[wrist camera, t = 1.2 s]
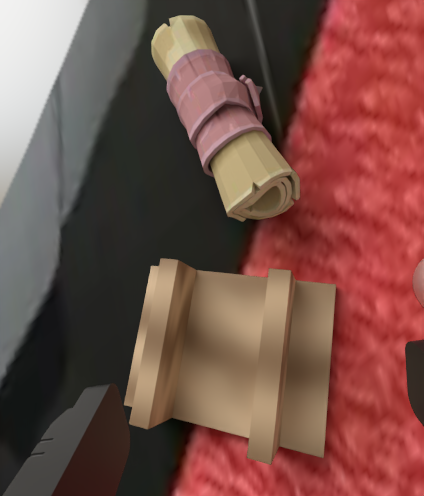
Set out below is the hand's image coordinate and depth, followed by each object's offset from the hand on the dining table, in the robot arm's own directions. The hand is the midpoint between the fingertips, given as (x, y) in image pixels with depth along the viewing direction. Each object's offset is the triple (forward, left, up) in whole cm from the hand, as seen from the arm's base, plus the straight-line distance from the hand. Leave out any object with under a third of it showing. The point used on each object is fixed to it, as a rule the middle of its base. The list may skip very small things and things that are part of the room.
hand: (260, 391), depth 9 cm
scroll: (-20, -8, -18) cm, 28 cm away
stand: (0, -6, -18) cm, 19 cm away
